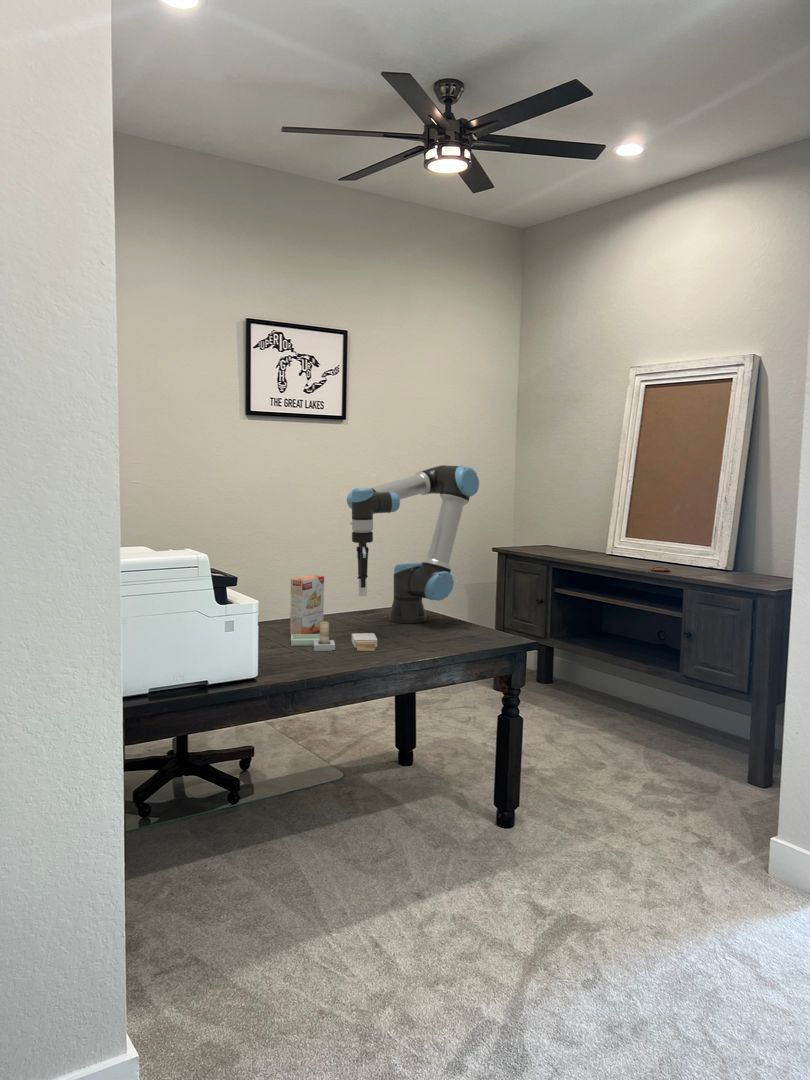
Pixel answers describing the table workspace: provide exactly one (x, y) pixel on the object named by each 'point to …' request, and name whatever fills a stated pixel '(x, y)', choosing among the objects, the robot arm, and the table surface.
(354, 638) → the white rectangular block
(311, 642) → the tray
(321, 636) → the pestle
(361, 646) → the wooden block
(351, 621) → the table surface
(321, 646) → the holder
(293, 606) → the cracker box
